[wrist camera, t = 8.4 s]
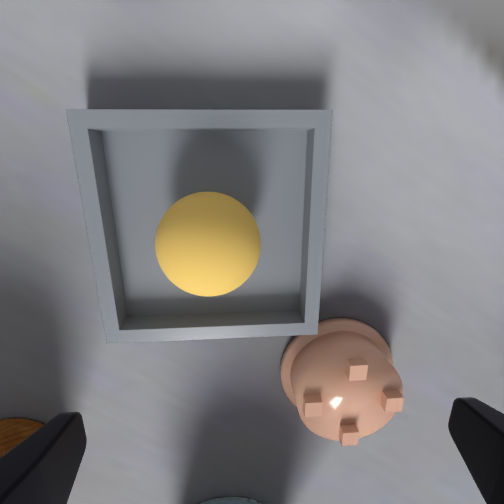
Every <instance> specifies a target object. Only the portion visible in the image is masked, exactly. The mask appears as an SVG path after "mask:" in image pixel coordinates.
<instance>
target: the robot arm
mask: <svg viewBox="0 0 504 504" xmlns="http://www.w3.org/2000/svg"><path fill="white" fill-rule="evenodd" d="M448 427H449V432H450V434H451V437H452V438H453V440H454V442H455V444H456V446H457V448H458V450H459V452H460V454H461V456H462V458H463V460H464V462H465V463H466V465H467V467H468V469H469V471H470V473H471V475H472V477H473V479H474V481H475V483H476V485H477V487H478V488H479V490H480V492H481V494H482V496H483V498H484V500H485V501H486V503H487V504H504V414H503V413H501V412H499V411H497V410H496V409H494V408H492V407H490V406H488V405H487V404H485V403H483V402H481V401H479V400H478V399H476V398H471V397H467V398H456V399H455V400H454V402H453V406H452V410H451V414H450V418H449V423H448ZM85 448H86V434H85V429H84V424H83V419H82V415H81V414H80V413H79V412H63V413H60V414H58V415H57V416H55V417H54V418H53V419H51V420H50V421H49V422H47V423H46V424H45V425H43V426H42V427H41V428H39V429H38V430H37V431H35V432H34V433H33V434H31V435H30V436H29V437H27V438H26V439H25V440H23V441H22V442H21V443H19V444H18V445H17V446H15V447H14V448H13V449H11V450H10V451H9V452H7V453H6V454H5V455H3V456H2V457H1V458H0V504H67V501H68V498H69V495H70V492H71V489H72V487H73V484H74V481H75V478H76V475H77V472H78V469H79V466H80V463H81V460H82V458H83V455H84V452H85Z"/></svg>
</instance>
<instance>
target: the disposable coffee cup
mask: <svg viewBox="0 0 504 504" xmlns="http://www.w3.org/2000/svg"><path fill="white" fill-rule="evenodd" d="M43 425H44V424H42V423H39V422H36V421H33V420H28V419H19V418H12V419H4V420H0V458H1V457H2V456H3V455H5V454H6V453H7V452H9V451H10V450H11V449H13V448H14V447H15V446H17V445H18V444H19V443H21V442H22V441H23V440H25V439H26V438H27V437H29V436H30V435H31V434H33V433H34V432H35V431H37V430H38V429H39V428H41V427H42V426H43Z"/></svg>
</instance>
